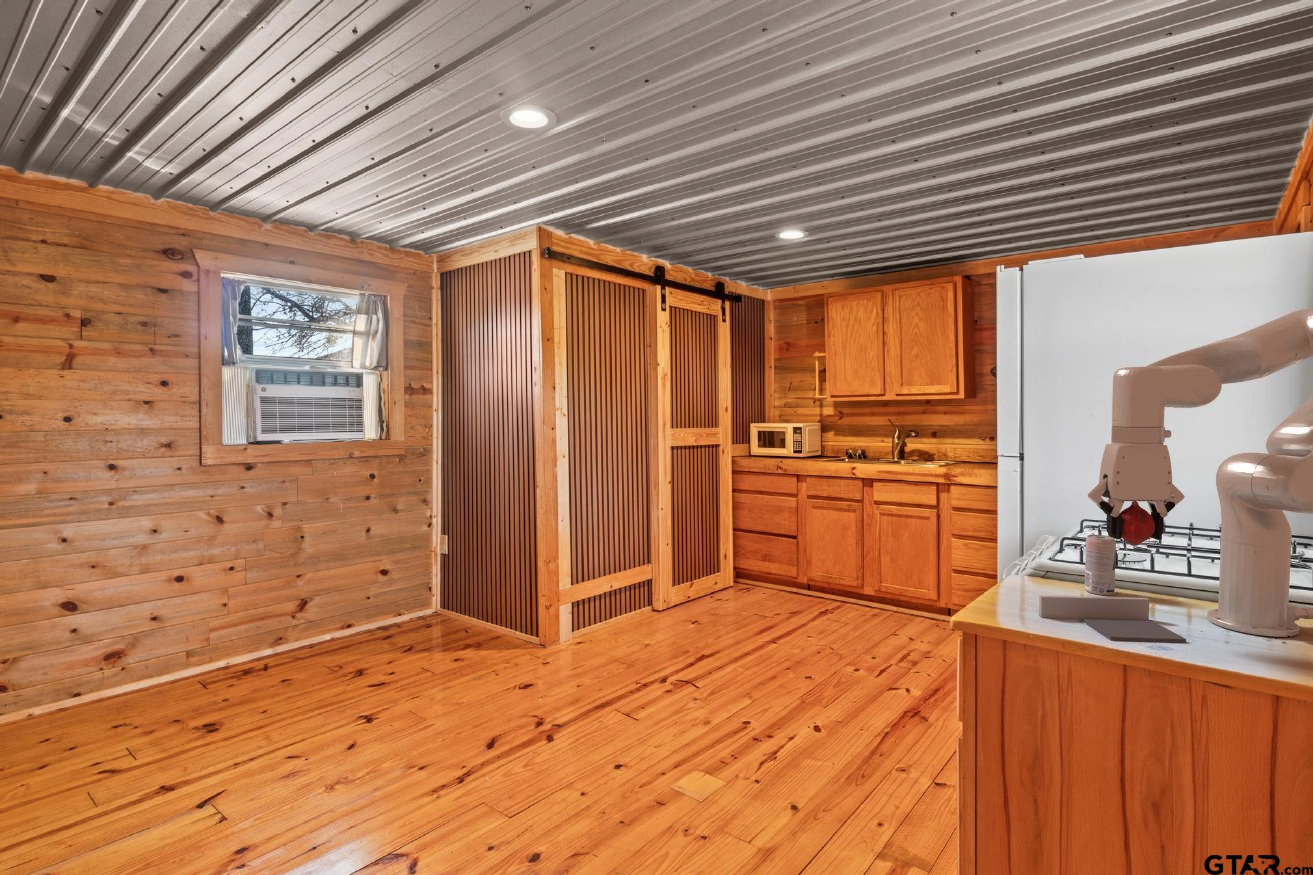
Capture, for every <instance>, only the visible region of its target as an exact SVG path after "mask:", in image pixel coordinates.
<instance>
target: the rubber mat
mask: <svg viewBox="0 0 1313 875" xmlns="http://www.w3.org/2000/svg"><path fill="white" fill-rule="evenodd" d="M1081 622H1082V623H1083V624H1085V623H1086V624H1085V625H1086V626H1088V627H1090V628H1091V629H1093V630H1094V631H1096V632H1097V633H1098V634H1100V635H1102V636H1104V638H1106V639H1108V640H1109V641H1123V642H1124V641H1125V642H1155V643H1157V642H1158V643H1163V642H1164V643H1184V644H1186V643H1187V638H1185V637H1184V636H1181V635H1179V634H1177V632H1173V631H1172V630H1170V629H1169V628H1167V627H1164V626H1163V625H1161V624H1159V623H1157V622H1156V621H1153V620H1152V619H1149V620H1137V619H1100V618H1082V619H1081Z"/></svg>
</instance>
